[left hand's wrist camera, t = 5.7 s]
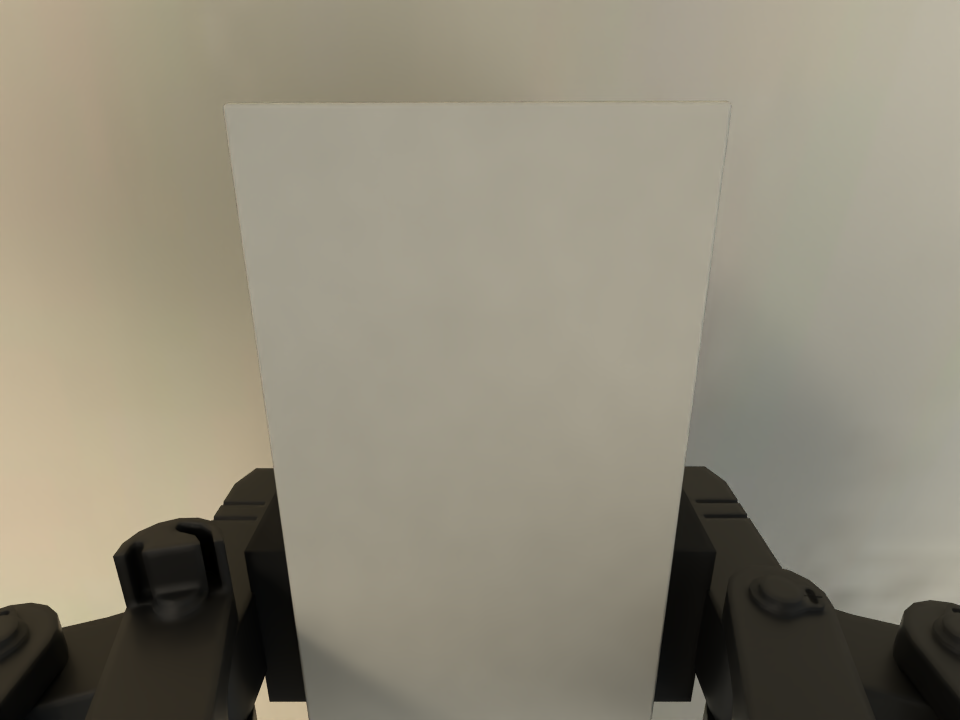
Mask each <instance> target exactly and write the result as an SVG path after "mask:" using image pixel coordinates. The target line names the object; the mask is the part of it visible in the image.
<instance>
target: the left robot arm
mask: <svg viewBox="0 0 960 720" xmlns="http://www.w3.org/2000/svg"><path fill="white" fill-rule="evenodd" d="M113 558H114V562H115V566H116V569H117V573H118V577H119V580H120V584H121V588H122V592H123V595H124V599H125V603H126V606H127V608H126V611H125V612H124V613H120V614H117V615H114V616H110V617H107V618H102V619H98V620H94V621H89V622H85V623H81V624H76V625H72V626H68V627H63V628H62V627H61V624H60V621H59V618H58V615H57V613H56V612H55V611H54V610H52V609H51V608H50V607H49V606H48V605H42V604H36V603H25V604H17V605H10V606H7V607H4V608H1V609H0V720H257V715H256V710H255V701H256V698H257V696H258V693H259V690H260V688H261V685H262V682H263V680H264V677H266V683H267V689H268V694H269V700H270V702H306V695H305V688H304V681H303V674H302V667H301V660H300V653H299V646H298V638H297V631H296V624H295V617H294V610H293V603H292V596H291V589H290V581H289V574H288V567H287V560H286V553H285V546H284V539H283V532H282V524H281V517H280V510H279V503H278V496H277V489H276V482H275V475H274V468H256V469H255V470H253V471H252V472H251V473H249V474H248V475H247V476H245V477H244V478H242V479H241V480H240V481H238V482H237V483H236V484H235V485H234V486H233V488H232V489H231V491H230V493H229V494H228V496H227V497H226V499H225V500H224V504H223V505H221V506H220V508H219V510H218V511H217V513H216V514H215V516H214V520H211V521H209V520H205V519H201V518H178V519H174V520H169V521H165V522H161V523H158V524H155V525H153V526H151V527H148V528H146V529H144V530H142V531H139V532H138V533H136V534H135V535H134V536H132V537H131V538H130V539H128V540H127V541H125V542H124V543H123V544H122V545H121V547H120V548H119V549H118V551H117V552H116V553H115V555H114V556H113ZM695 674H696V675H697V678H698V680H699V683H700V686H701V688H702V691H703V694H704V696H705V699H706V704H705V710H704V715H703V720H960V605H957V604H954V603H948V602H940V601H933V600H929V601H923V602H917V603H913V604H912V605H911V606H910V607H909V608H907V609H906V610H905V611H904V614H903V617H902V620H901V623H900V625H896V624H891V623H887V622H882V621H878V620H874V619H869V618H865V617H860V616H856V615H852V614H849V613H845V612H842V611H839V610H836V609H834V607H833V605H832V604H831V602H830V601H829V599H828V597H827V596H826V594H825V593H824V592H823V591H822V590H821V589H819V588H818V587H817V586H816V585H815V584H813V583H812V582H811V581H810V580H808V579H806V578H804V577H802V576H800V575H798V574H796V573H794V572H792V571H789V570H786V569H782V567H781V566H780V564H779V563H778V561H777V560H776V558H775V557H774V555H773V554H772V552H771V551H770V549H769V548H768V546H767V544H766V543H765V541H764V540H763V538H762V537H761V535H760V534H759V532H758V531H757V529H756V528H755V526H754V524H753V523H752V521H751V520H750V518H747V514H746V512H745V511H744V509H743V508H742V506H741V504H740V503H738V502H737V498H736V497H735V495H734V494H733V492H732V491H731V489H730V488H729V486H728V485H727V483H726V482H725V481H724V480H723V479H721V478H720V477H718V476H717V475H716V474H714V473H713V472H712V471H710V470H709V469H707V468H706V467H684V475H683V482H682V490H681V497H680V505H679V513H678V520H677V528H676V536H675V543H674V551H673V558H672V566H671V574H670V581H669V589H668V597H667V604H666V612H665V619H664V627H663V635H662V642H661V650H660V658H659V665H658V673H657V681H656V688H655V696H654V702H691V697H692V692H693V686H694V680H695Z"/></svg>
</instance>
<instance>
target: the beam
mask: <svg viewBox="0 0 960 720" xmlns="http://www.w3.org/2000/svg"><path fill="white" fill-rule="evenodd" d="M731 108H732V106H731V103H730V102H728V101H584V102H321V103H226V104H224V107H223V111H224V119H225V126H226V133H227V140H228V147H229V154H230V161H231V168H232V176H233V183H234V190H235V197H236V204H237V211H238V218H239V225H240V232H241V240H242V247H243V254H244V261H245V268H246V275H247V282H248V289H249V297H250V304H251V311H252V318H253V325H254V332H255V339H256V346H257V354H258V361H259V368H260V375H261V382H262V389H263V396H264V403H265V411H266V418H267V425H268V432H269V439H270V446H271V453H272V460H273V468H274V475H275V482H276V489H277V496H278V503H279V510H280V517H281V524H282V532H283V539H284V546H285V553H286V560H287V567H288V574H289V581H290V589H291V596H292V603H293V610H294V617H295V624H296V631H297V638H298V646H299V653H300V660H301V667H302V674H303V681H304V688H305V695H306V703H307V710H308V717H309V720H651V719H652V711H653V703H654V696H655V688H656V681H657V673H658V665H659V658H660V650H661V642H662V635H663V627H664V619H665V612H666V604H667V597H668V589H669V581H670V574H671V566H672V558H673V551H674V543H675V536H676V528H677V520H678V513H679V505H680V497H681V490H682V482H683V475H684V467H685V459H686V452H687V444H688V436H689V429H690V421H691V414H692V406H693V398H694V391H695V383H696V375H697V368H698V360H699V352H700V345H701V337H702V330H703V322H704V314H705V307H706V299H707V291H708V284H709V276H710V269H711V261H712V253H713V246H714V238H715V230H716V223H717V215H718V208H719V200H720V192H721V185H722V177H723V169H724V162H725V154H726V146H727V139H728V131H729V124H730V116H731Z"/></svg>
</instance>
